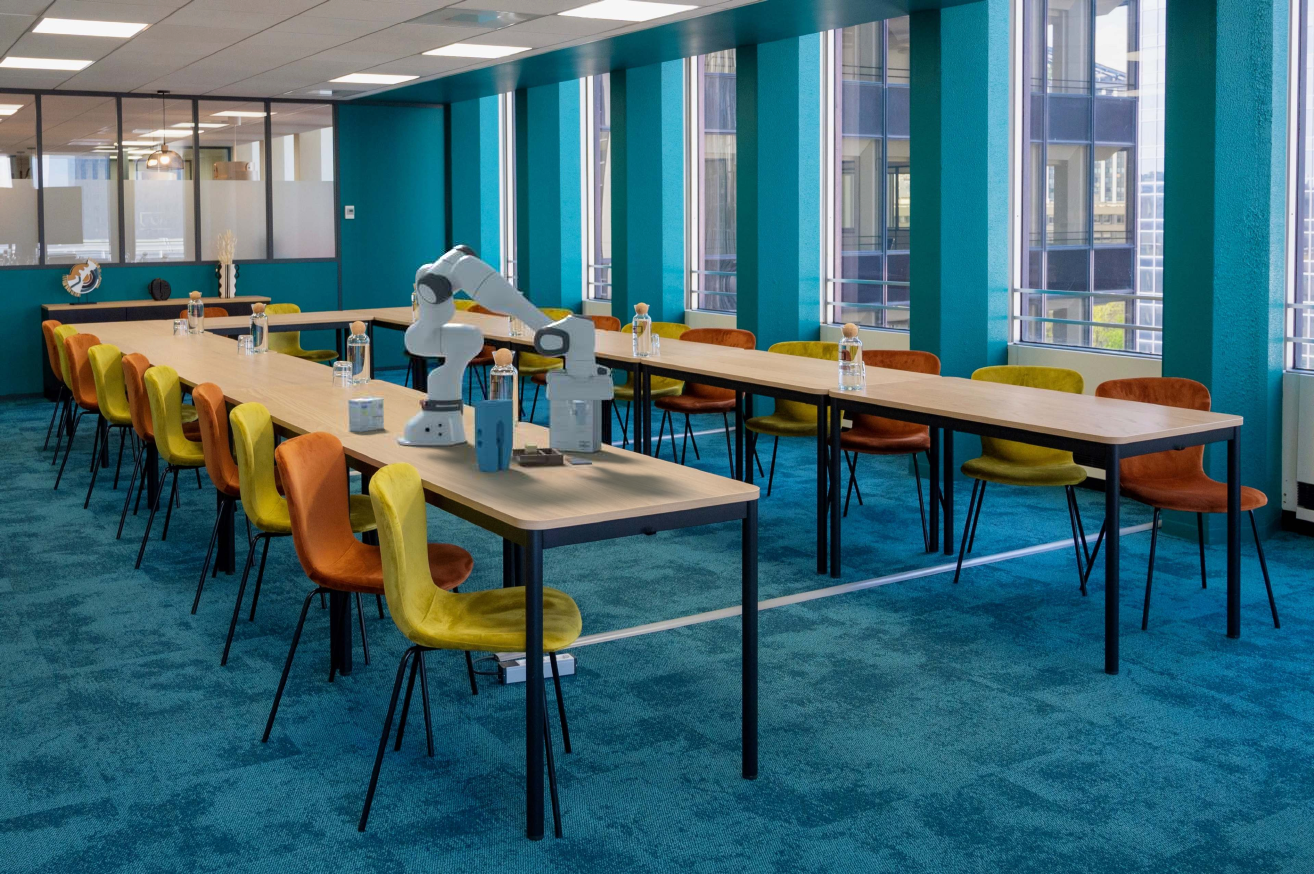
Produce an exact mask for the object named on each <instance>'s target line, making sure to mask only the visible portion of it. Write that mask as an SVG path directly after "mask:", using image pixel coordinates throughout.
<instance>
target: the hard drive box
mask: <svg viewBox="0 0 1314 874" xmlns="http://www.w3.org/2000/svg"><path fill="white" fill-rule="evenodd" d="M548 400H549V399H548ZM580 401H582V402H584V403H586V408H587V406H588V404H589V403H587V400H580ZM548 403H549V404H548V405H549V406H548V407H549V409H548V410H549V413H548V416H549V428H548V430H549V431H548V432H549V448H555V449H556V450H557V451H559V452H560V451H561V452H576V453H577V452H578V453H590V454H591V453H595V452H597V451H600V450H603V449H602V447H603V446H602V400H593V405H592V407H591V408H590V413H589V415H586V425H576V424H574V423H572V422H571V421H570V408H569V406H568V405H567V400H559V401H551V400H549V401H548Z"/></svg>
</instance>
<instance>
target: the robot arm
mask: <svg viewBox="0 0 1314 874" xmlns="http://www.w3.org/2000/svg"><path fill="white" fill-rule="evenodd" d="M460 290H461V291H463V292H464V293H465V294H466V295H468V297H470V298H471V299H472V300H473V301H474V302H475V303H477V304H478V305H479V306H481V307H482V308H484V309H486V310H487V311H490V312H492V313H494V314H501V315H506V316H509V317H512V318H515V319H516V320H518V321H520V322H522V323H523V324H524V325H525V326H526V327H528V328H530V329H531V330H532V331H534V332H535V334H534V337H533V345H534V349H535V350H536V351H537V353H538V354H539V355H541V356H542V357H546V358H556V357H561V356H563V357H565V368H564V369H563V368H561V369H560V368H559V369H555V368H554V369H550V370H549V371H547V373H546V376H545V381H546V383H547V384H546V393H545V397H546V398H547V400H551V401H559V400H567V405H568V406H569V408H570V414H571V415H576V409H573V407H572V405H571V404H573V400H587V403H589V404H588V406H587V408H586V415H589V413H590V408H591V407H592V405H593V400H601V401H607V400H608V401H610V400H612V399H613V398H614V396H615V389H614V381H613V379H612V377H611V376H610V375H611V369H610V368H609V367H607V366H604V365H602V364H599V363H596V356H595V348H596V329H595V327H596V326H595V322H594V320H593V319H592V318H591V317H590V316H588V315H584V314H580V313H578V314H577V313H570V314H568V315H567V316H566V317H565V318H562V319H560V320H559V321H558V320H555V319H553V318H552V317H551V316H548V314H546V313H545V312H544V311H542V310H541V309H540V308H539V307H537V306H536V305H534V304H533V303H532V302H531V301H529V300H528V299H527V298H526V297H524V296H523V295H522V294H521V292H519V291H518V290H517V289H516V288H515V286H513V285H512V284H511V283H510V282H509V281H508V279H506V278H505V277H504V276H503V275H502V274H501V273H500V272H498V271H497V270H496V269H494V268H493V267H492V266H491V265H489V264H488V263H486V262H485V261H483V260H481V259H480V258H479V256H478V254H477V253H476V251H475V250H474V249H473V248H471V247H470V246H467V245H465V244H459V245H457V246H454V247H452V248H451V249H450V250H449V251H448V252H446V253H445V254H444V255H442V256H440V258H438V259H437V260H436V261H435V262H434V263H428V264H424V265H422V266H421V267H419V268H418V269H417V271H416V274H415V293H416V294H415V295H416V297H417V298H416V299H417V303H418V308H419V317H418V320H416V321H415V322H414V323H413V324H411V325H409V327H408V328H407V329H406V332H405V334H404V346H405V348H406V349H407V351H408V352H409V353H410V354H413V355H416V356H421V357H436V358H438V357H439V358H441V357H444V358H445V359H444V360H445V361H444V364H442V365H440V366H439V367H437V368H434V369H433V370H431V371H430V372H429V374H428V376H427V398H425V399H423V398H420V399H419V400H418V404H419V405H420V406H421V411H419V412H417V414H415V415H414V416H413V417H411V418H410V419H409V420H407V422H406V424H405V426H404V431H403V432H404V433H403V436H399V437H397V443H398V444H400V445H403V446H453V445H456V444H461V443H465V442H467V441H468V439H467V436H466V432H465V428H464V427H465V426H464V420H463V416H464V399H463V398H462V397H463V396H462V394H463V393H462V391H463V390H462V388H463V376H464V373H465V371H466V367H467V366H468V364H469V363H470V362H471V361H472V359H474V358H475V357H476V356H478V355H479V353H480V352H481V351H482V350H483V347H484V342H485V338H484V334H483V332H482V330H481V329H480V328H479V326H477V325H472V324H467V323H461V322H460V323H458V322H457V323H455V322H454V323H451V322H450V321H451V320H452V319H453V318H454V317H455V314H456V305H455V300H454V295H455V294H456V293H458V292H459V291H460Z"/></svg>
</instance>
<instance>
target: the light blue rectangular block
mask: <svg viewBox="0 0 1314 874" xmlns="http://www.w3.org/2000/svg"><path fill="white" fill-rule="evenodd" d="M571 405H572V407H573V409H576V415H571V414H570V421H571V422H572V423H574V424H576V425H586V403H584V402H582V401H580V400H573V404H571Z"/></svg>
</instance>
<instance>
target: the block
mask: <svg viewBox="0 0 1314 874" xmlns="http://www.w3.org/2000/svg"><path fill="white" fill-rule="evenodd" d="M512 449H514V400H513V399H510V398H509V399H508V398H497V399H488V400H480V401H474V450H475V458H476V461H477V467H478V470H479V471H480V472H486V473H487V472H488V473H492V472H498V471H499V470H509V469H510V465H511V459H512Z"/></svg>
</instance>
